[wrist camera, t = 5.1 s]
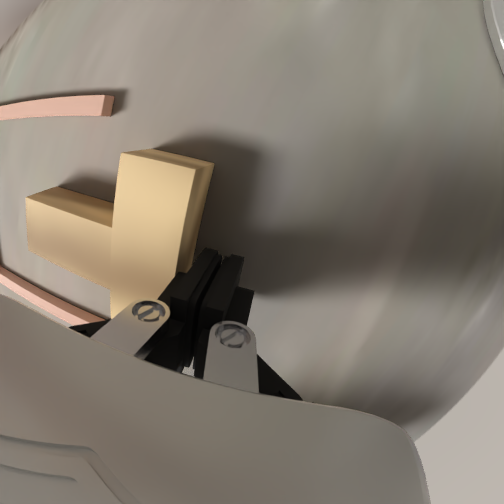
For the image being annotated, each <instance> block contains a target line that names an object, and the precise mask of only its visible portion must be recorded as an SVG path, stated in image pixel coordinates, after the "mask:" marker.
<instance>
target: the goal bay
mask: <svg viewBox="0 0 504 504" xmlns="http://www.w3.org/2000/svg"><path fill="white" fill-rule="evenodd" d="M113 101H114V96H109V95H86V96H70V97H58V98H48V99H40V100H32V101H26V102H20V103H14V104H8V105H3V106H0V120H7V119H16V118H28V117H43V116H111V112H112V107H113ZM0 283H2V284H3V285H5V286H6V287H8V288H9V289H11V290H12V291H14V292H16V293H17V294H19V295H20V296H22V297H24V298H25V299H27V300H28V301H30V302H32V303H33V304H35V305H37V306H39V307H40V308H42V309H44V310H46V311H47V312H49V313H51V314H53V315H55V316H56V317H58V318H60V319H62V320H64V321H66V322H68V323H70V324H72V325H74V326H75V325H81V324H87V323H92V322H98V321H104V319H102V318H100V317H97V316H95V315H93V314H91V313H88V312H86V311H84V310H82V309H80V308H77V307H75V306H73V305H71V304H69V303H67V302H65V301H63V300H61V299H59V298H57V297H55V296H53V295H51V294H49V293H47V292H45V291H43V290H41V289H39V288H38V287H36V286H34V285H32V284H30V283H28V282H27V281H25V280H23V279H21V278H20V277H18V276H16V275H15V274H13V273H11V272H10V271H8V270H6V269H5V268H3V267H1V266H0Z"/></svg>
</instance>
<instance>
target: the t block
mask: <svg viewBox="0 0 504 504" xmlns="http://www.w3.org/2000/svg"><path fill="white" fill-rule="evenodd" d="M214 164H215V163H211V162H207V161H203V160H199V159H195V158H191V157H186V156H182V155H178V154H173V153H169V152H164V151H160V150H155V149H146V150H138V151H130V152H123V153H121V157H120V163H119V170H118V177H117V184H116V192H115V201H114V203H111V202H108V201H104V200H101V199H98V198H94V197H91V196H88V195H84V194H81V193H77V192H74V191H71V190H67V189H64V188H60V187H54V188H51V189H48V190H45V191H42V192H39V193H36V194H33V195H31V196H28V197H26V223H27V238H28V249H29V251H31V252H33V253H35V254H37V255H38V256H40V257H42V258H44V259H46V260H48V261H50V262H52V263H54V264H56V265H58V266H60V267H62V268H64V269H66V270H68V271H70V272H72V273H75V274H77V275H79V276H81V277H83V278H85V279H87V280H90V281H92V282H94V283H96V284H99V285H101V286H103V287H105V288H108V289H110V304H111V319H113V318H114V317H115V316H116V315H117V314H119V313H120V312H121V311H122V310H123V309H125V308H126V307H127V306H128V305H129V304H131V303H132V302H134V301H135V300H138V299H142V298H152V299H158V297H159V296H160V295H161V293H162V292H163V291H164V290H165V288H166V287H167V286H168V284H169V283H170V282H171V280H172V279H173V278H174V277H175V275H176V274H177V273H178V272H183V273H187V272H188V271H189V269H190V268H191V266H192V261H193V256H194V251H195V246H196V242H197V237H198V232H199V228H200V223H201V218H202V214H203V210H204V205H205V201H206V197H207V192H208V188H209V184H210V180H211V176H212V172H213V168H214Z"/></svg>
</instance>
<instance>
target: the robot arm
mask: <svg viewBox="0 0 504 504" xmlns="http://www.w3.org/2000/svg"><path fill="white" fill-rule="evenodd" d="M483 6H484V15H485V19H486V23H487V28H488V32H489V35H490V38H491V41H492V44H493V48H494V51H495V54H496V56H497V59H498V61H499V64H500V67H501V70H502V72H503V75H504V0H483ZM221 261H222V255H219V254H218V251H216V250H212V249H208V248H205V249H204V250H203V251H202V253H201V254H200V256H199V257H198V258H197V260H196V261H195V262H194V264H193V265H192V267H191V268H190V269H189V271H188V272H187V273H183V272H178V273H177V274H176V275H175V277H174V278H173V279H172V280H171V282H170V283H169V284H168V286H167V287H166V288H165V290H164V291H163V292H162V293H161V295H160V296H159V297H158V299H152V298H142V299H138V300H135V301H134V302H132V303H131V304H129V305H128V306H127V307H126V308H125V309H123V310H122V311H121V312H120V313H119V314H117V315H116V316H115V317H114V318H113V319H109V320H104V321H98V322H92V323H87V324H81V325H75V326H71V327H69V328H68V327H66V326H64V325H62V324H60V323H58V322H56V321H54V320H52V319H51V318H49V317H47V316H45V315H43V314H41V313H39V312H38V311H36V310H34V309H32V308H30V307H28V306H26V305H24V304H22V303H21V302H19V301H17V300H15V299H12V298H10V297H8V296H5V295H2V294H0V504H430V496H429V491H428V487H427V482H426V477H425V473H424V469H423V466H422V462H421V459H420V456H419V454H418V451H417V449H416V446H415V444H414V442H413V441H412V439H411V437H410V436H409V435H408V433H407V432H406V431H405V430H404V429H402V428H401V427H400V426H398V425H396V424H395V423H393V422H391V421H389V420H386V419H383V418H381V417H378V416H376V415H373V414H369V413H366V412H362V411H358V410H353V409H348V408H343V407H337V406H330V405H323V404H317V403H314V402H312V403H311V402H305V401H303V400H302V398H301V397H300V396H299V395H298V394H297V393H296V392H295V391H294V390H293V389H292V388H291V387H290V386H289V385H288V384H287V383H286V382H285V381H284V380H283V379H282V378H281V377H280V376H279V375H278V374H277V373H276V372H275V371H274V370H273V369H272V368H271V367H269V366H268V365H267V364H266V363H265V362H264V361H263V359H262V358H261V357H260V356H259V355H258V354H257V351H256V338H255V334H254V333H253V331H252V330H251V329H250V328H249V327H247V322H248V317H249V313H250V308H251V304H252V299H253V295H254V291H253V290H249V289H245V288H241V287H238V284H239V279H240V274H241V270H242V265H243V261H244V257H241V256H237V255H233V254H231V256H230V257H227V256H226V257H225V258H224V260H223V262H222V264H221ZM193 357H194V361H193V369H195V371H194V376H195V377H193V376H190V375H187V374H183V373H182V371H183V369H184V366H185V367H188V368H189V367H190V364H191V362H192V360H193Z"/></svg>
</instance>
